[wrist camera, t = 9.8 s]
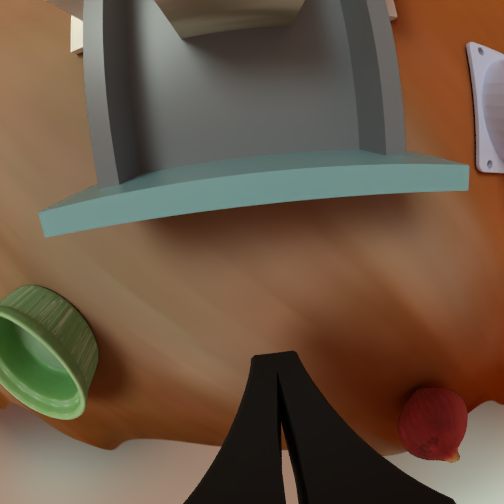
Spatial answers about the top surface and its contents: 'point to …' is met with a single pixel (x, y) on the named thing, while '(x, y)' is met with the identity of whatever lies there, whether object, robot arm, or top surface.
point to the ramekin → (46, 352)
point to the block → (227, 14)
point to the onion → (433, 424)
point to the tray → (242, 115)
